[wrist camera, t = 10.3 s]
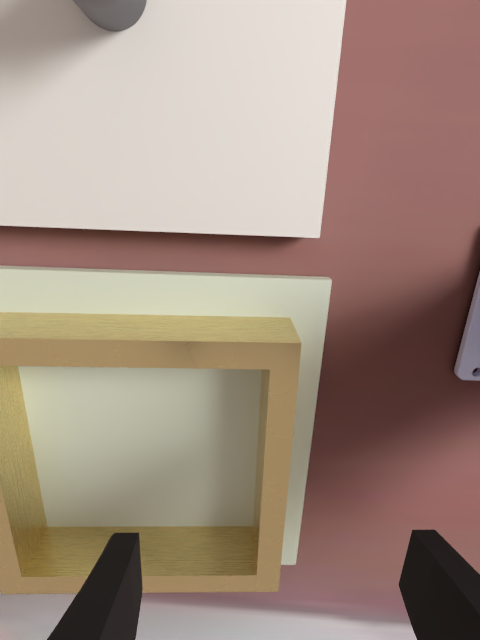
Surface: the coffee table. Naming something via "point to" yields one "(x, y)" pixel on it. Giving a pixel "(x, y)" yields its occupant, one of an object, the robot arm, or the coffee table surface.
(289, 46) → the post stand
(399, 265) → the coffee table surface
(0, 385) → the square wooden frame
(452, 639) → the robot arm
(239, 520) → the mat
